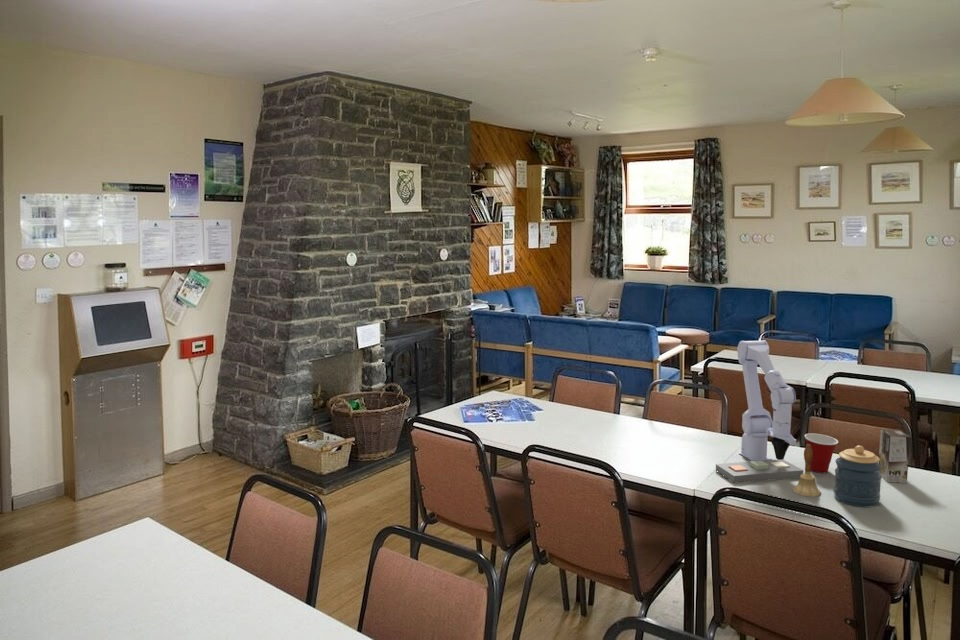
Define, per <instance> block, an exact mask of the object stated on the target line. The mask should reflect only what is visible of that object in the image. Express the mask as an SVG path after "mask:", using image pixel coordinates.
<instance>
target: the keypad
mask: <svg viewBox="0 0 960 640" xmlns="http://www.w3.org/2000/svg"><path fill="white" fill-rule="evenodd" d="M762 461H763V462H765V463H767V464H768V465H769V467H768V469H764V470H755V469H754V468H752V467H750V461H739V462H725V463H717V464H715V472H717V471H718V472H719V473H718V472H717V473H718V474H720V473H721V474H722V475H721V474H720V475H721V476H723V475H724V476H725V477H724V476H723V477H724V478H726V477H727V478H728V479H727V478H726V479H727V480H729V479H730V480H731V481H730V480H729V481H730V482H732V483H733V482H734V483H733V484H736V483H735V482H740V483H751V482H763V481H773V480H774V481H776V480H783V479H784V480H786V479H787V480H788V479H796V478H797V479H798V477H800V475H801V474H804V470H803V469H802V468H800V467H798V466H796V465H795V464H793V463H790V462H789V461H787V460H785V459H782V460H778V459H772V460H762ZM772 462H783V463H785V464H787V465H789V468H776V467H774V466H772V465H771V464H770V463H772ZM734 465H741V466H743V467H745V468H746V469H747V471H739V472H735V471H733V470H732V469H730V468H729V466H734Z"/></svg>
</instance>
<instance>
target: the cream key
mask: <svg viewBox="0 0 960 640" xmlns="http://www.w3.org/2000/svg"><path fill="white" fill-rule="evenodd" d="M770 464H771V465H772V466H774V467H776V468H789V465H787V464H785V463H783V462H772V463H770Z"/></svg>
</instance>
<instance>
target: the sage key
mask: <svg viewBox="0 0 960 640" xmlns="http://www.w3.org/2000/svg"><path fill="white" fill-rule="evenodd" d="M749 462H750V467H752V468H754V469H755V470H764V469H768V467H769V465H768V464H767V463H765V462H763V460H762V461H751V460H749Z"/></svg>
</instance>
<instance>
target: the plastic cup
mask: <svg viewBox="0 0 960 640" xmlns="http://www.w3.org/2000/svg"><path fill="white" fill-rule="evenodd" d="M804 439H805V443H806V444H810V445H811V448H812V452H813V456H812V461H811V464H810V466H811V469H810V470H811V471H812V472H815V473H819V472H820V473H821V474H824V472H825V473H828V472H827V471H828V470H829V468H830V464H831V461H832V458H833V454H834V450H835V448H836V446H837V445H838V443H839V440H838V439H837V438H834V437H832V436H830V435H826V434H823V433H822V434H821V433H813V432H812V433H806V434H804ZM806 444H805V445H806Z"/></svg>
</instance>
